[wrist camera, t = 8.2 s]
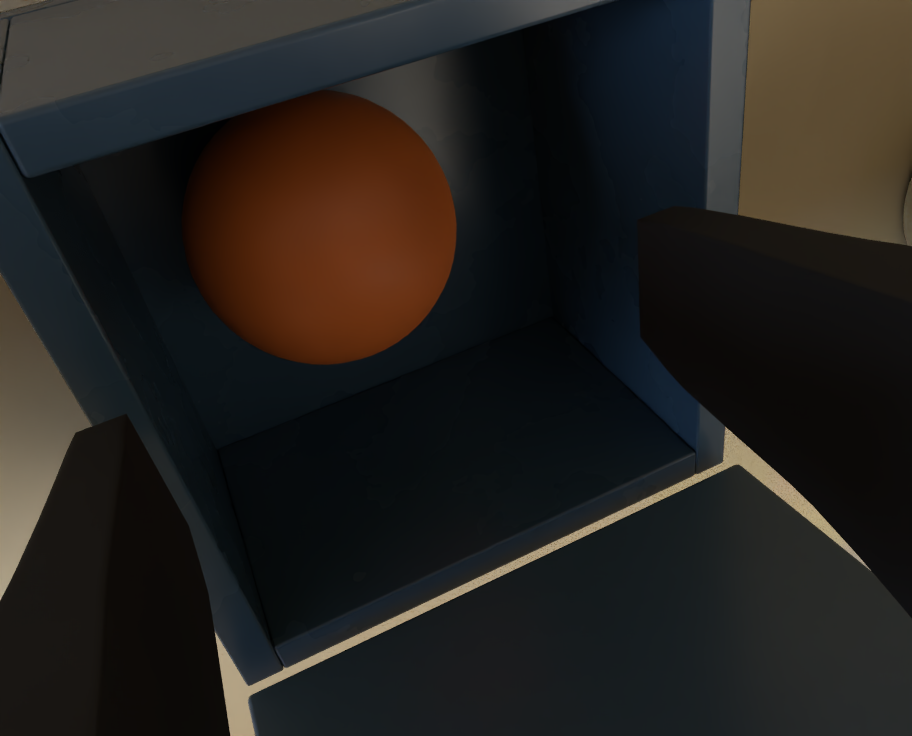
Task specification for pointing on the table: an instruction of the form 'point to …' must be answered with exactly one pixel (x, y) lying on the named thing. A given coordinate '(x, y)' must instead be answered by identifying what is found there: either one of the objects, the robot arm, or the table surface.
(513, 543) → the bin
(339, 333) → the orange ball
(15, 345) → the table surface
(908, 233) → the plant pot
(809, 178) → the table surface
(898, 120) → the table surface
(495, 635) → the bin lid
